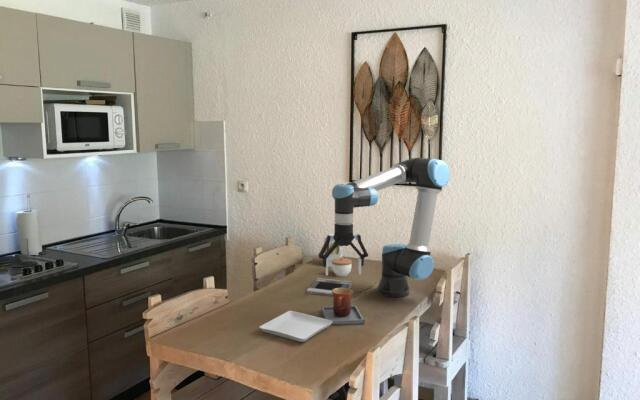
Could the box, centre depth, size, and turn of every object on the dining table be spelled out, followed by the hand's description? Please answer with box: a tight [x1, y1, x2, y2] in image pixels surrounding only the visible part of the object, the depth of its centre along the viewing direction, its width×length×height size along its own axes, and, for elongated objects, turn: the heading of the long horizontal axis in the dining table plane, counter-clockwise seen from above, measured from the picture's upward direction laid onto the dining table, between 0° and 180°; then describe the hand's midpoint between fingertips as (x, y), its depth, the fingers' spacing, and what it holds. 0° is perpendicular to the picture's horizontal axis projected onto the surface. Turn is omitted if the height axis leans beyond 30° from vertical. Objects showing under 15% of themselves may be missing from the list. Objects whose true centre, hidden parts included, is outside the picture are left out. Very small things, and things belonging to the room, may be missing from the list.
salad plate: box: [259, 310, 332, 343], centre depth 212 cm, size 21×21×3 cm
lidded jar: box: [331, 256, 353, 277], centre depth 287 cm, size 11×11×9 cm
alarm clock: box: [306, 277, 352, 297], centre depth 262 cm, size 17×5×16 cm
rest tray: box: [321, 305, 365, 327], centre depth 226 cm, size 15×17×2 cm
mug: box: [332, 288, 353, 317], centre depth 226 cm, size 12×9×10 cm
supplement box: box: [323, 233, 343, 268], centre depth 306 cm, size 10×9×17 cm
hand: (343, 274), depth 224 cm, fingers open, 13 cm apart
